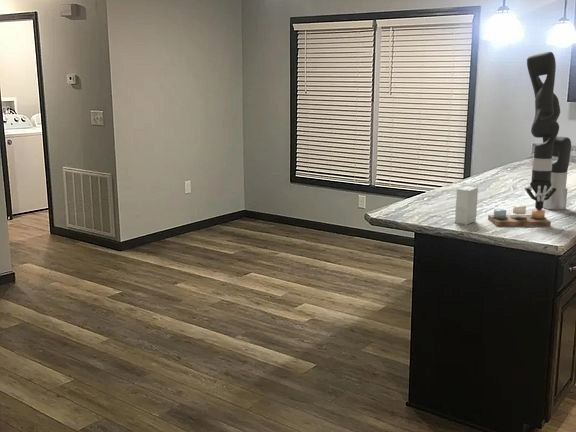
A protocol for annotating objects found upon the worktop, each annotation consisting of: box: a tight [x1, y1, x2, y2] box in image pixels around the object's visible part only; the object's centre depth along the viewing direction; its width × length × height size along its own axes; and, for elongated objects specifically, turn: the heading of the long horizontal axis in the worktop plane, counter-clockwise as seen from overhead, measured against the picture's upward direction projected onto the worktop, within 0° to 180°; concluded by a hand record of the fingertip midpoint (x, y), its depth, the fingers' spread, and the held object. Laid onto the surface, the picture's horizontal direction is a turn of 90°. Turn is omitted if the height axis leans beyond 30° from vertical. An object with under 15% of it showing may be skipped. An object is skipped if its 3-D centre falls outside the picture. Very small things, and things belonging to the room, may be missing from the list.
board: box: [487, 214, 552, 227], centre depth 277 cm, size 22×13×2 cm, turn 88°
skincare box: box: [454, 185, 479, 225], centre depth 277 cm, size 8×6×15 cm
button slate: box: [493, 208, 507, 219], centre depth 276 cm, size 5×5×3 cm
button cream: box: [512, 204, 527, 215], centre depth 276 cm, size 5×5×3 cm
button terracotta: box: [531, 208, 546, 219], centre depth 276 cm, size 5×5×3 cm
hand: (538, 209), depth 275 cm, fingers closed
